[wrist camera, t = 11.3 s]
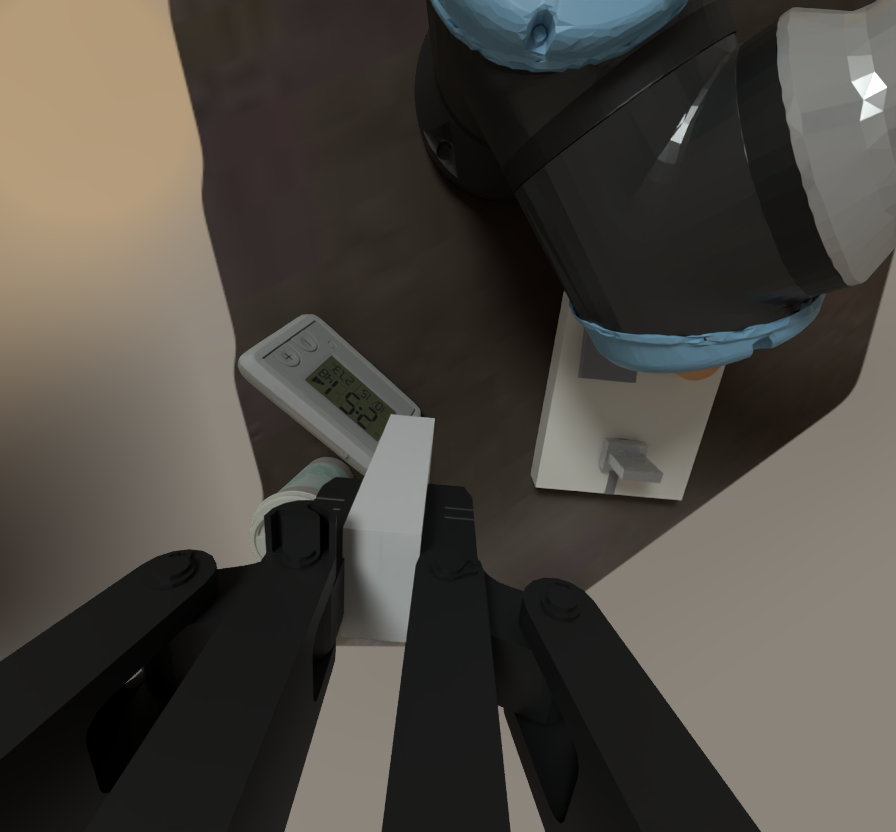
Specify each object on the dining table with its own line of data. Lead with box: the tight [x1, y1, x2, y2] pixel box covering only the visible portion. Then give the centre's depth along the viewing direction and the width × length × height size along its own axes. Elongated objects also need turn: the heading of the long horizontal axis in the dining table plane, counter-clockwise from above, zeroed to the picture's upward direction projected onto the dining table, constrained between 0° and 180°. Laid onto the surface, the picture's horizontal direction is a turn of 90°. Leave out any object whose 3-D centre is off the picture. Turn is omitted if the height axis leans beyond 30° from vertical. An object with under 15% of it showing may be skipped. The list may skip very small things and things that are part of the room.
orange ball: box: [674, 366, 721, 381], centre depth 40 cm, size 5×5×5 cm
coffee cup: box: [249, 457, 354, 562], centre depth 42 cm, size 8×8×12 cm
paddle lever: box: [599, 438, 663, 483], centre depth 40 cm, size 3×4×5 cm
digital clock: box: [238, 314, 421, 476], centre depth 39 cm, size 16×9×11 cm, turn 35°
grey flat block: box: [578, 328, 637, 383], centre depth 38 cm, size 6×5×1 cm
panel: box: [531, 291, 725, 500], centre depth 42 cm, size 22×16×4 cm
